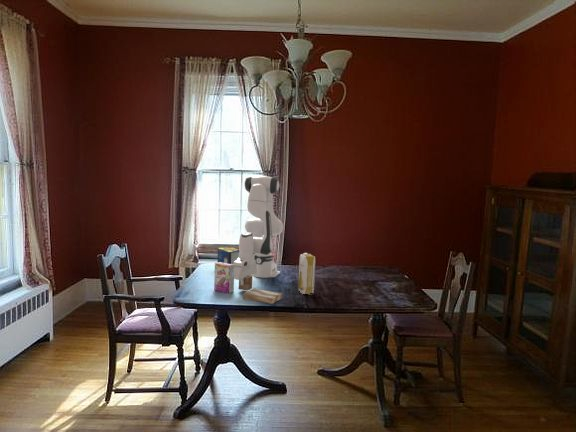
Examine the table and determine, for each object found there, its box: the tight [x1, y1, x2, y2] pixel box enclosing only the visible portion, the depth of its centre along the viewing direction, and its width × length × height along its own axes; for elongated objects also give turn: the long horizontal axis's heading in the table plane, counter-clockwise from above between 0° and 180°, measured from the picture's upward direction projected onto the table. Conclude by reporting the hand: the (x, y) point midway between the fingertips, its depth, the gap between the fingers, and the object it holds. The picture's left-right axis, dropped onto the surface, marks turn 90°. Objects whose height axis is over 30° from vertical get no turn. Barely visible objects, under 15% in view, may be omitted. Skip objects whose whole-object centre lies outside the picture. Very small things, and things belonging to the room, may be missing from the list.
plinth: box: [242, 288, 283, 305], centre depth 239 cm, size 12×18×3 cm, turn 64°
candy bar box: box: [213, 261, 235, 294], centre depth 249 cm, size 11×5×16 cm, turn 59°
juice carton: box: [297, 252, 316, 295], centre depth 252 cm, size 9×8×24 cm
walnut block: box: [238, 275, 253, 292], centre depth 251 cm, size 5×6×8 cm
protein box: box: [217, 246, 239, 267], centre depth 300 cm, size 10×15×16 cm
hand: (245, 283), depth 251 cm, fingers closed on walnut block, 5 cm apart
